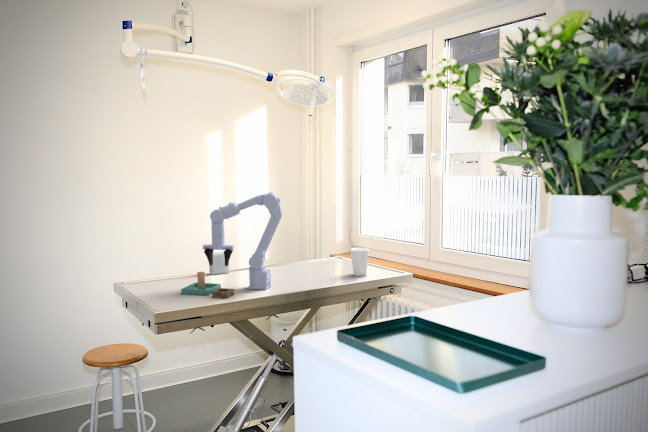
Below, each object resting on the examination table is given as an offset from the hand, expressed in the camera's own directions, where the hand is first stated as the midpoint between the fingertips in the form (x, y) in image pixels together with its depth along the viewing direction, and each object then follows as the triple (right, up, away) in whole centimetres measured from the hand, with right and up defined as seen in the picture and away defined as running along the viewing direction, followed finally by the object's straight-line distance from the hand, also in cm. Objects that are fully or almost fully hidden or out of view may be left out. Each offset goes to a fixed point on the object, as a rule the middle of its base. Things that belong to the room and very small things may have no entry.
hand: (218, 265), depth 251 cm
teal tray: (-7, -11, -5) cm, 14 cm away
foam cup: (+66, -7, +28) cm, 72 cm away
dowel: (-7, -11, -6) cm, 14 cm away
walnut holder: (+5, -12, -14) cm, 19 cm away
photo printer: (-6, -7, +32) cm, 34 cm away
